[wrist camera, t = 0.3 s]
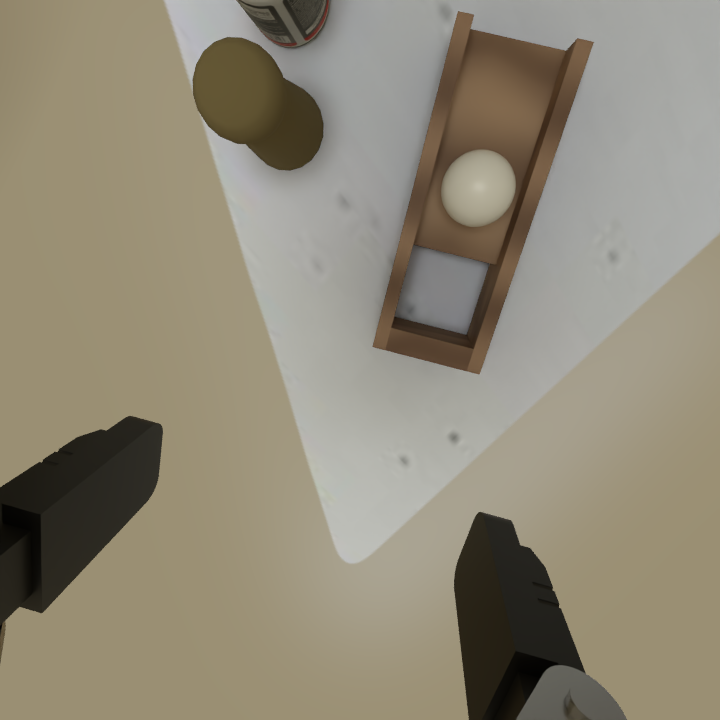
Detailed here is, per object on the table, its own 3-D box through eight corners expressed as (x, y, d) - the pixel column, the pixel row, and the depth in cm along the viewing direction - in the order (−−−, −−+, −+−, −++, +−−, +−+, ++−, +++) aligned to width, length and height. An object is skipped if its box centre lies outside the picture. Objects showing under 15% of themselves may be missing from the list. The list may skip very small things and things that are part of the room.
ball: (450, 148, 31) (456, 134, 26) (516, 164, 30) (535, 153, 26) (430, 218, 32) (434, 216, 28) (494, 234, 32) (508, 235, 27)
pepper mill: (339, 131, 33) (307, 87, 23) (284, 187, 35) (230, 170, 24) (286, 64, 32) (226, -14, 22) (231, 125, 34) (152, 80, 24)
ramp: (451, 40, 31) (458, 11, 27) (568, 67, 30) (593, 42, 26) (376, 333, 38) (372, 346, 33) (471, 357, 37) (479, 374, 33)
